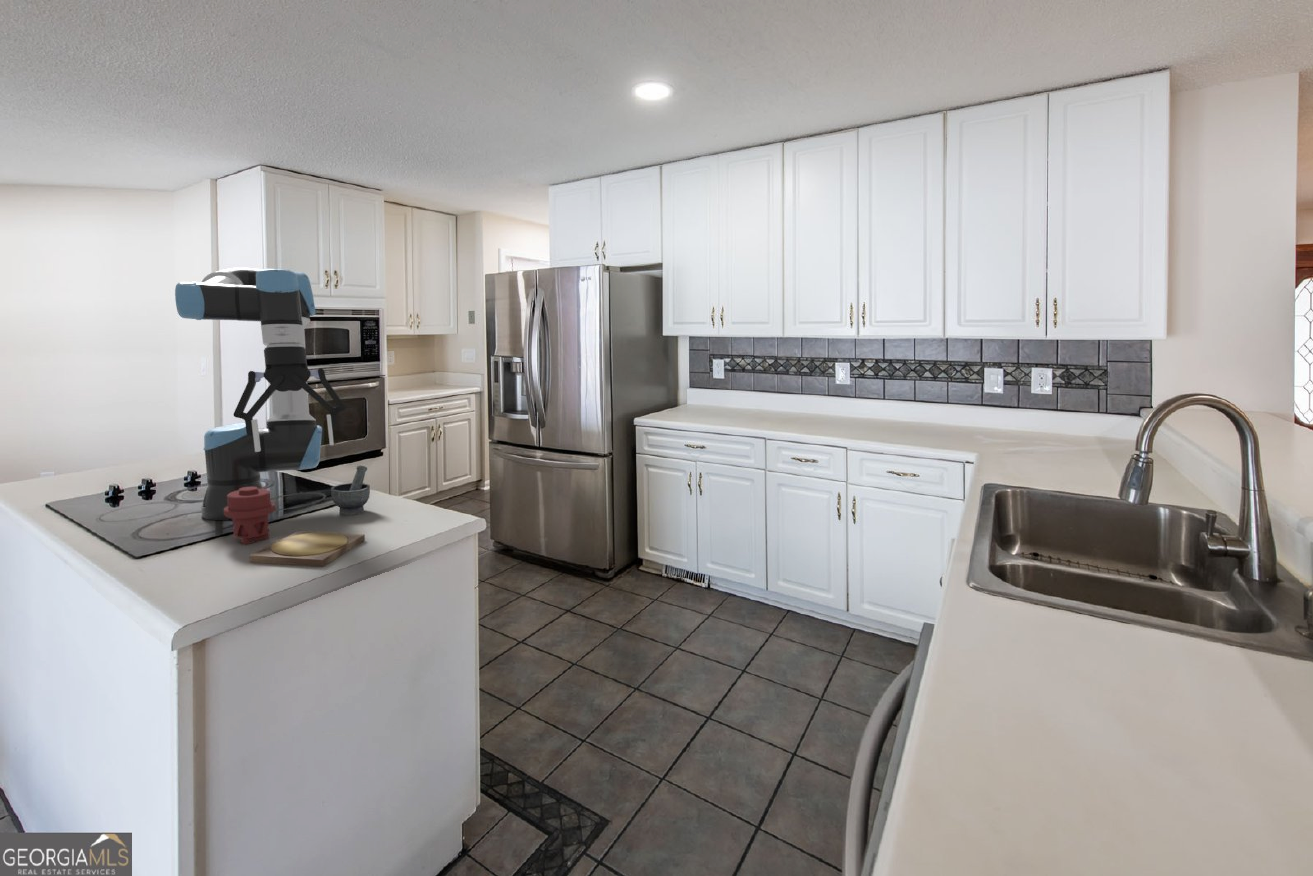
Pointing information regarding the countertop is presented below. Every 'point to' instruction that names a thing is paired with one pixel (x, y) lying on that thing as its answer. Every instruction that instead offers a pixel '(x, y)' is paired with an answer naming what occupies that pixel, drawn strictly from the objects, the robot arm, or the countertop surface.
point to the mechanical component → (249, 513)
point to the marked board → (307, 548)
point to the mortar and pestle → (352, 494)
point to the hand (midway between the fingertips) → (295, 448)
